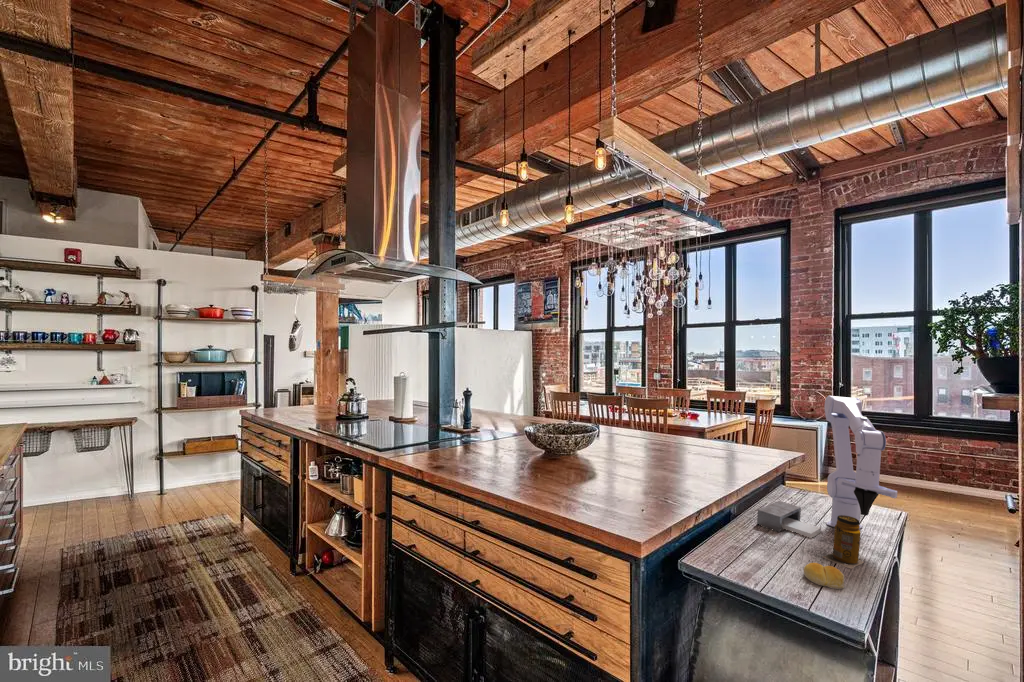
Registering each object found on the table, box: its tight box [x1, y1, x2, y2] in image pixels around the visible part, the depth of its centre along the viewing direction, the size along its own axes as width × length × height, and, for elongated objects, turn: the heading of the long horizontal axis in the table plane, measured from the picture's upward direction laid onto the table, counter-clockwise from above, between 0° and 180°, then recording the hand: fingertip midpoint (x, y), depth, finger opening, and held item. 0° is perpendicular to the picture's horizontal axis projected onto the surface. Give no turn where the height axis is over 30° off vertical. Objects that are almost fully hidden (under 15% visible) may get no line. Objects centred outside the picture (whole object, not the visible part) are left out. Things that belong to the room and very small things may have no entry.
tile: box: [781, 517, 822, 539], centre depth 158 cm, size 8×13×2 cm, turn 39°
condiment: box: [822, 515, 865, 570], centre depth 136 cm, size 7×8×12 cm
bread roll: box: [803, 562, 846, 590], centre depth 124 cm, size 8×9×4 cm
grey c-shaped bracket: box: [756, 500, 802, 533], centre depth 161 cm, size 16×7×5 cm, turn 128°
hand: (864, 514), depth 146 cm, fingers closed
